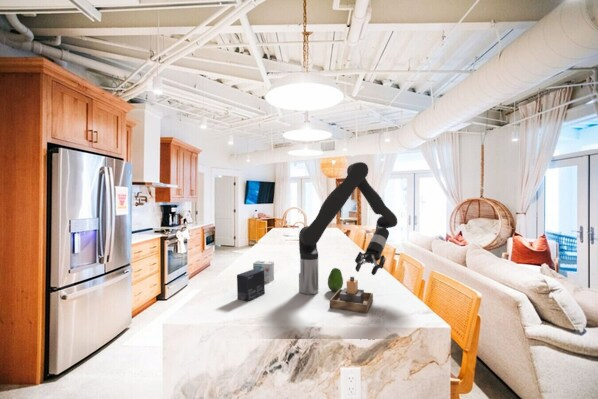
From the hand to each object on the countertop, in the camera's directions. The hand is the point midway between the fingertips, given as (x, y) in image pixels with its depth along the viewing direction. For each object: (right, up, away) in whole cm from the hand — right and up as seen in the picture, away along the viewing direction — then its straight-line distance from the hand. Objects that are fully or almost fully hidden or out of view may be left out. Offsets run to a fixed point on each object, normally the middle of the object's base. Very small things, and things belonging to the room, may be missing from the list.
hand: (364, 272), depth 140 cm
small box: (-55, -13, +3) cm, 56 cm away
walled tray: (-7, -12, -8) cm, 17 cm away
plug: (-7, -12, -8) cm, 16 cm away
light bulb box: (-52, -13, +30) cm, 62 cm away
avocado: (-13, -12, +10) cm, 21 cm away
